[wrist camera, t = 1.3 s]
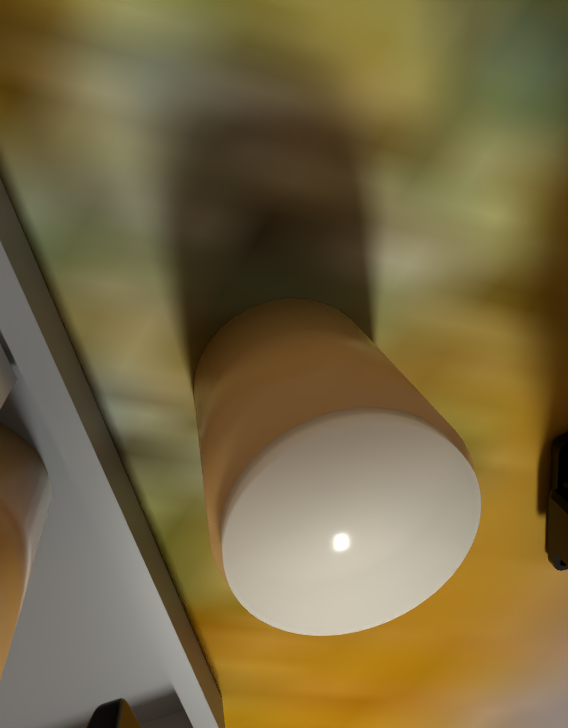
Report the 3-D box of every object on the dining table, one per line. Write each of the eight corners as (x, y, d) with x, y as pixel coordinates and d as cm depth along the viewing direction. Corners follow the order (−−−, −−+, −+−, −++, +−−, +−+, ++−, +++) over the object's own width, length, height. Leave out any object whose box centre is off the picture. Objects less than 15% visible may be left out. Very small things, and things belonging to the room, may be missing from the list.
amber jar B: (361, 276, 15) (486, 375, 9) (384, 435, 18) (493, 593, 12) (169, 327, 15) (174, 467, 9) (220, 484, 17) (250, 674, 11)
